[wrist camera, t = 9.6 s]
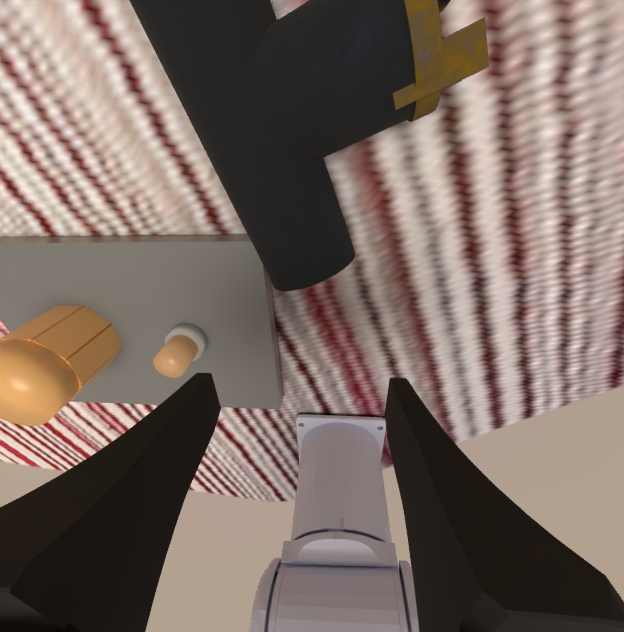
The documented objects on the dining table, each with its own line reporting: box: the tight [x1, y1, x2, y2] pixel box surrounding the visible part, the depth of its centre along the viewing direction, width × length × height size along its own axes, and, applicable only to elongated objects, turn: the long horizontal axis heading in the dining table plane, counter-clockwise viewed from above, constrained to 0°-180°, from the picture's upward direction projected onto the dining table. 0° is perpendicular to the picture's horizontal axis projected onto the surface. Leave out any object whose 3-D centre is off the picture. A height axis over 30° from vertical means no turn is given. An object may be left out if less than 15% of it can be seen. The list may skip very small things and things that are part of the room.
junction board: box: [0, 234, 283, 409], centre depth 20 cm, size 14×20×4 cm
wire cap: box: [0, 306, 122, 426], centre depth 19 cm, size 5×5×6 cm
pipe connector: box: [130, 0, 489, 291], centre depth 12 cm, size 12×5×15 cm
